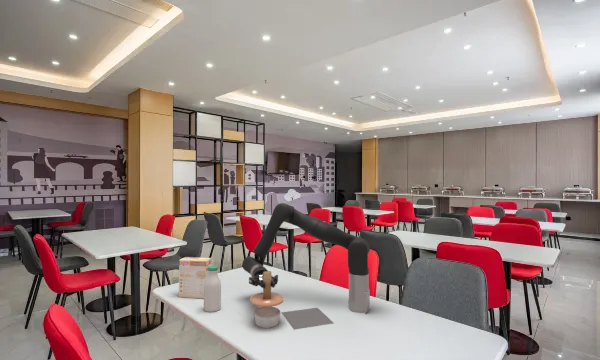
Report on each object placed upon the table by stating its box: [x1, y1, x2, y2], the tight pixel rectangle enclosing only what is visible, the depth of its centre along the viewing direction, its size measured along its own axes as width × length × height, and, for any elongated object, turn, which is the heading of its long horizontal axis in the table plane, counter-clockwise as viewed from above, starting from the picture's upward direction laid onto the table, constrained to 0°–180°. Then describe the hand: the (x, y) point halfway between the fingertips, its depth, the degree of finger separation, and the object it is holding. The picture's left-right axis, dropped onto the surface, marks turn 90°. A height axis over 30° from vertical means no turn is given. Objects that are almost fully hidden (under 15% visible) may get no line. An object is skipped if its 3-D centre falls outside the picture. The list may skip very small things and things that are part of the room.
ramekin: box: [253, 306, 281, 329], centre depth 136 cm, size 11×11×5 cm
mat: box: [280, 307, 334, 331], centre depth 141 cm, size 18×18×1 cm
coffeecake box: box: [178, 256, 212, 300], centre depth 168 cm, size 15×7×20 cm, turn 80°
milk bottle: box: [203, 265, 222, 313], centre depth 151 cm, size 8×8×20 cm
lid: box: [250, 270, 284, 308], centre depth 136 cm, size 14×14×12 cm
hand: (269, 285), depth 133 cm, fingers closed on lid, 3 cm apart
